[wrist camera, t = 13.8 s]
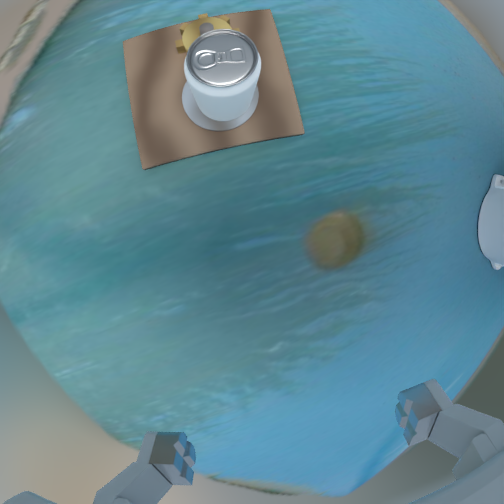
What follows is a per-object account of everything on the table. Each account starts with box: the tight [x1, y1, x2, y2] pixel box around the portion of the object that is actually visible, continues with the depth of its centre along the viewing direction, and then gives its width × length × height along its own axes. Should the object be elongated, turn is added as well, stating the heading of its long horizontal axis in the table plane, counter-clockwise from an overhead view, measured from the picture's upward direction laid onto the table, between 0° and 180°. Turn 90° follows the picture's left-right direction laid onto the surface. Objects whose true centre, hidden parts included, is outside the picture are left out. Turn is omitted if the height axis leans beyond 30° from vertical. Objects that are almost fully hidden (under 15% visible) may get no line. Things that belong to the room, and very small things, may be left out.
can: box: [184, 29, 261, 121], centre depth 24 cm, size 6×6×12 cm
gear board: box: [123, 9, 304, 170], centre depth 28 cm, size 20×19×6 cm
